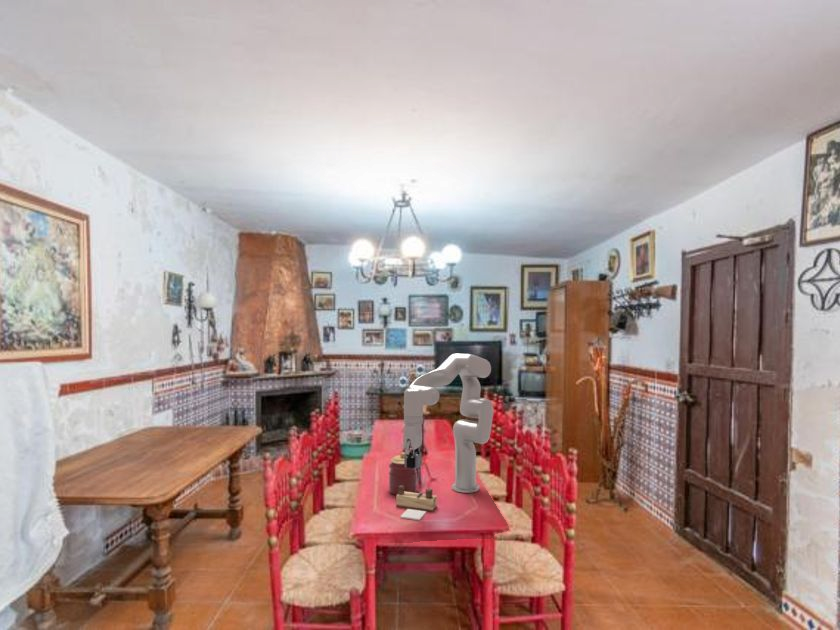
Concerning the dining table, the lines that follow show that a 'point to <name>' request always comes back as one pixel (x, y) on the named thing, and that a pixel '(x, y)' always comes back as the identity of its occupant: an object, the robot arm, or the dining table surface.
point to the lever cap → (417, 459)
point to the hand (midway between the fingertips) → (413, 465)
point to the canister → (401, 476)
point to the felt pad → (413, 514)
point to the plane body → (416, 499)
